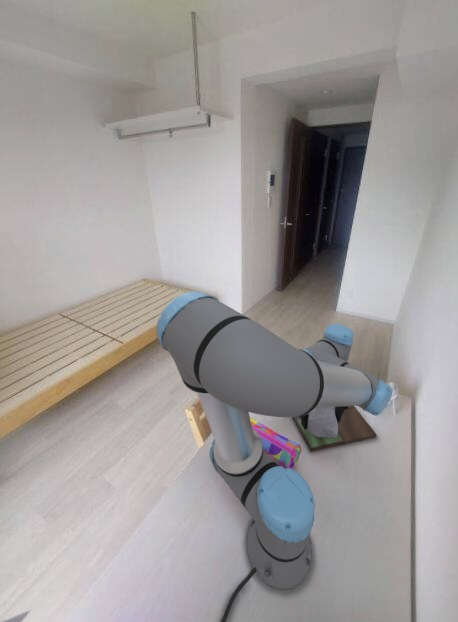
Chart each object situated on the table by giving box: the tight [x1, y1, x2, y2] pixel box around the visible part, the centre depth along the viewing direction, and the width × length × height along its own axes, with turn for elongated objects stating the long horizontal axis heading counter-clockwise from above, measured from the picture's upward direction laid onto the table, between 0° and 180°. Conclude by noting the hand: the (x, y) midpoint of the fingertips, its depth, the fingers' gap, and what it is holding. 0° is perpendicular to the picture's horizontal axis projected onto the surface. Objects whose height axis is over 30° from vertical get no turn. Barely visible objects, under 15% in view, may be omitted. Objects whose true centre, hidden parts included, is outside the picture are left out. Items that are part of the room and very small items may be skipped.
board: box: [291, 406, 378, 453], centre depth 99 cm, size 24×24×2 cm
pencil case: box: [249, 415, 302, 470], centre depth 85 cm, size 22×9×9 cm, turn 55°
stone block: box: [307, 407, 338, 438], centre depth 90 cm, size 12×5×10 cm
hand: (320, 422), depth 91 cm, fingers closed on stone block, 11 cm apart
